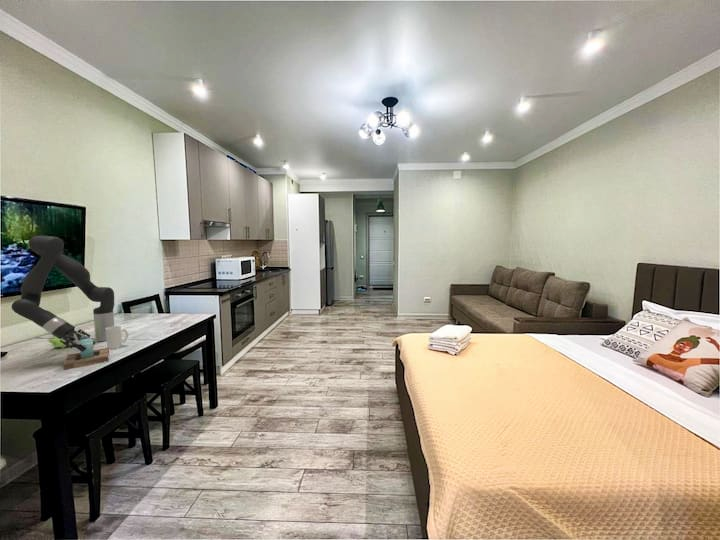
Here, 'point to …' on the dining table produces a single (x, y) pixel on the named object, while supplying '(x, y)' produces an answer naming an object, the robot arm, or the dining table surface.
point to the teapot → (57, 342)
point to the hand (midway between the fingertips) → (89, 347)
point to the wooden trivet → (73, 362)
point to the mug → (115, 336)
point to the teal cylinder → (89, 345)
